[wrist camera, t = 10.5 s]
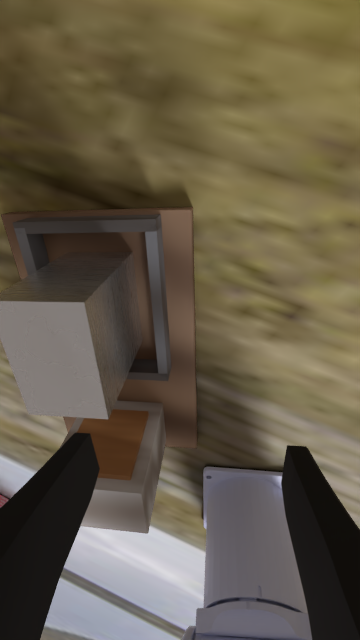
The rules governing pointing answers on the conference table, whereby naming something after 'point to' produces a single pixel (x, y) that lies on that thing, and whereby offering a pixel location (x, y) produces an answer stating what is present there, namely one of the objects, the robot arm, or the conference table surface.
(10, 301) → the grey rectangular block
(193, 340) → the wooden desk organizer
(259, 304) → the conference table surface
